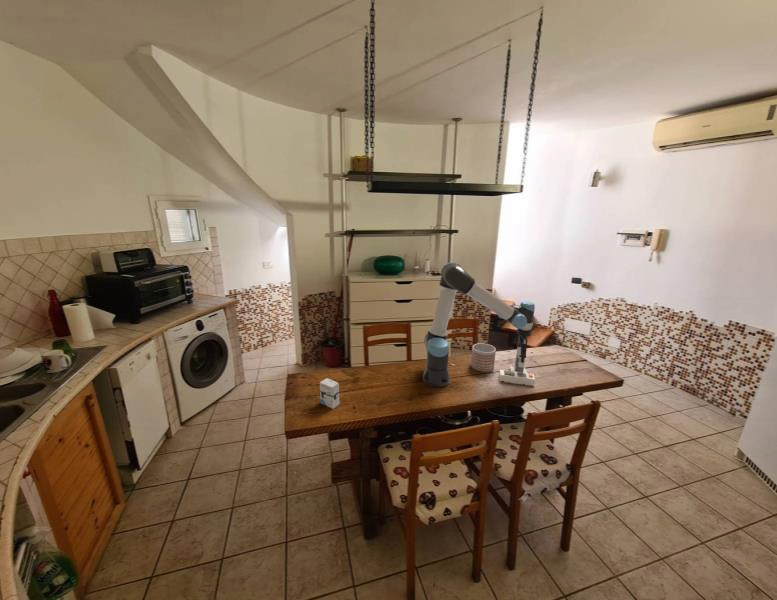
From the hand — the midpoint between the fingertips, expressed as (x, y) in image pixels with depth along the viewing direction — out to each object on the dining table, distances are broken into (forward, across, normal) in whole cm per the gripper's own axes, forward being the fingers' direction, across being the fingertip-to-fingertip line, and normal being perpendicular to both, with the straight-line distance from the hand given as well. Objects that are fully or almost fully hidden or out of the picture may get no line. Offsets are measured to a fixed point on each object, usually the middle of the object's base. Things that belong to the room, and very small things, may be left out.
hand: (519, 361), depth 193 cm
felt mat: (+6, 0, 0) cm, 6 cm away
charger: (+6, 0, 0) cm, 6 cm away
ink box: (+7, -63, +93) cm, 113 cm away
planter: (+7, 0, +21) cm, 22 cm away
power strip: (+6, -12, +2) cm, 14 cm away
